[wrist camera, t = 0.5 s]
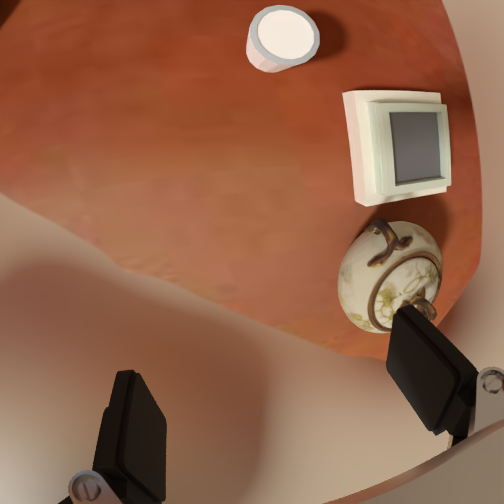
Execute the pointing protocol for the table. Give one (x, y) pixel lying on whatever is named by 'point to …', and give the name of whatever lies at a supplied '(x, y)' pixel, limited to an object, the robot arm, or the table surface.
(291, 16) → the white short cylinder
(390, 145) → the stand
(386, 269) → the sugar bowl
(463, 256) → the table surface
